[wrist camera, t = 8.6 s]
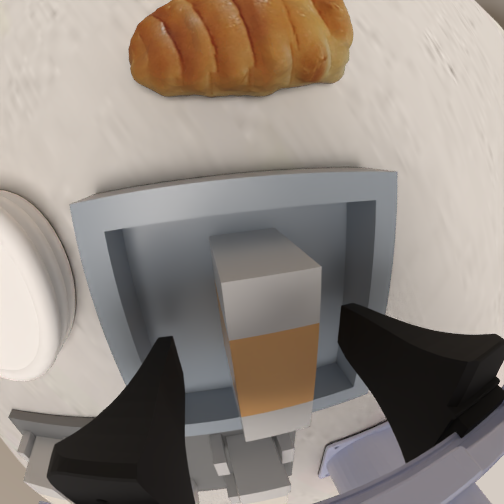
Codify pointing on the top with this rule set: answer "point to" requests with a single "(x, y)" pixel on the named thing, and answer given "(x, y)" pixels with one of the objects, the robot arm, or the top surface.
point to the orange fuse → (268, 328)
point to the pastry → (240, 46)
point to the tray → (202, 277)
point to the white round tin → (31, 291)
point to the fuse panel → (197, 447)
